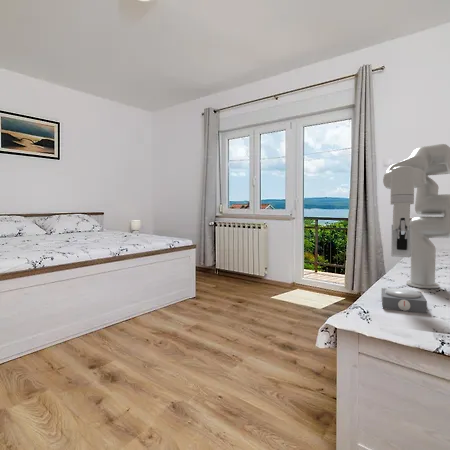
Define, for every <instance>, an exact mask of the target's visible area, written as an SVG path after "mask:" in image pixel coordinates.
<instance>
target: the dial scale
mask: <svg viewBox="0 0 450 450" xmlns="http://www.w3.org/2000/svg"><path fill="white" fill-rule="evenodd" d="M380 293H381V305H382V306H381V307H383V308H382V309H385V308H387V310H394V309H395V310H396V311H402V310H403V312H411V311H412V313H422V314H427V313H428V311H427V310H428V301H427V299H426V298H425V296H424V294H423V293H422V291H417V290H412V289H407V288H395V287H394V288H393V287H392V288H385V287H384V288H383V287H381V292H380ZM395 310H394V311H395Z"/></svg>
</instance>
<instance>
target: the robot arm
mask: <svg viewBox="0 0 450 450" xmlns="http://www.w3.org/2000/svg"><path fill="white" fill-rule="evenodd" d="M448 174H449V175H450V146H449V145H448V144H446V143H445V144H444V143H440V144H433V145H425V146H421V147H418V148H416V149H414V150H413V151H412V152H411V154H410V156H409V157H408V158H406V159H402V160H401V161H399V162H395V163H394V164H392V165H390V166H389V167H388V168H387V170H386V171H385V173H384V174H383V179H382V180H383V181H382V183H383V185H384V187H385V188H386V189H387V190H390V205H391V206H392V205H393V207H392V208H393V209H392V225H393V230H394V231H395V230H396V229H398V239H397V250H407V231H408V230H409V225H412V256H411V257H410V279H409V280H407V281H406V283H405V284H406V285H407V286H410V287H414V288H420V289H438V288H440V284H439V283H437V282H436V249H437V248H436V246H435V245H434V243H433V242H432V241H431V240H430V239H450V194H448V193H447V194H439V185H438V184H437V182H436V181H435V180H434V179H433V178H431V177H430V176H437V175H438V176H439V175H448ZM415 189H416V192H415ZM415 193H416V194H415ZM411 205H414V210H415V213H416V214H417V215H420V216H415V217H412V218H411ZM399 229H401V230H399Z"/></svg>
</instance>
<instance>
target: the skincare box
mask: <svg viewBox="0 0 450 450" xmlns="http://www.w3.org/2000/svg"><path fill="white" fill-rule="evenodd" d="M399 230H401V229H399ZM397 239H398V229H396V230H395V231H394V230H393V224H391V253H390V254H391V255H390V256H391V257H394V258H395V257H396V258H411V256H412V225H409V230H408V231H407V250H397Z"/></svg>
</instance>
